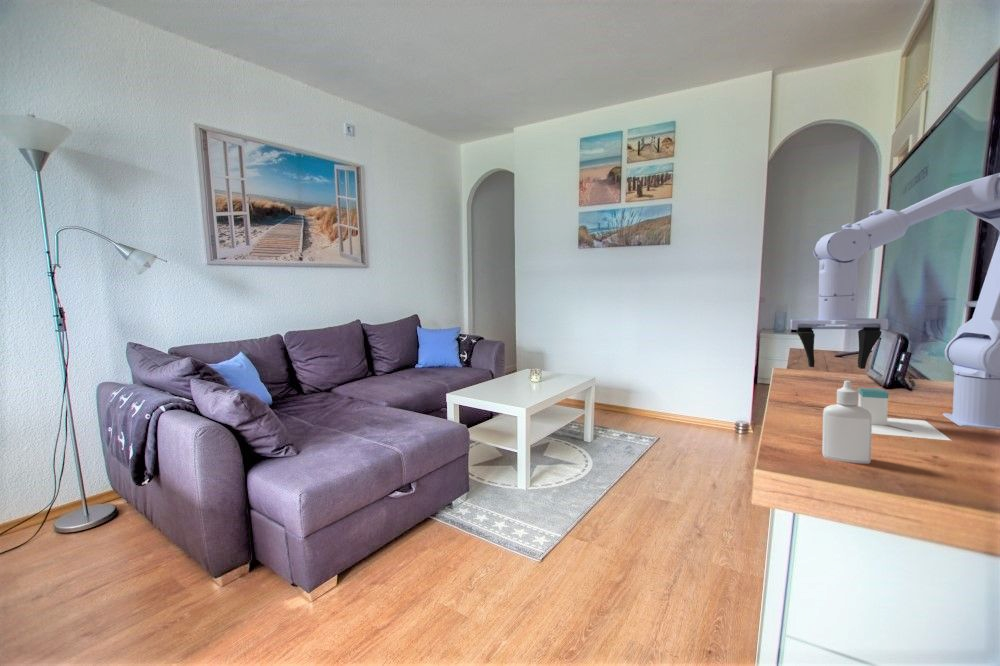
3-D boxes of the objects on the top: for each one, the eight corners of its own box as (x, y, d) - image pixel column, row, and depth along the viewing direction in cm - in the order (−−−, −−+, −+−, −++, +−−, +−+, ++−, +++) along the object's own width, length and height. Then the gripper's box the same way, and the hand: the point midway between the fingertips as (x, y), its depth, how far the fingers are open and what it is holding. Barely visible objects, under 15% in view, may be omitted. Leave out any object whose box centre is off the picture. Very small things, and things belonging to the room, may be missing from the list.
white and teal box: (882, 420, 82) (882, 388, 81) (887, 425, 79) (888, 392, 78) (857, 418, 84) (858, 387, 83) (862, 423, 80) (862, 391, 80)
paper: (925, 422, 81) (925, 420, 81) (951, 442, 70) (951, 440, 70) (843, 416, 87) (843, 414, 87) (857, 433, 76) (857, 431, 76)
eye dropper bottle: (861, 469, 62) (863, 386, 61) (817, 457, 67) (818, 380, 66) (875, 462, 64) (878, 382, 63) (831, 451, 69) (833, 376, 68)
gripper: (793, 297, 82) (792, 368, 83) (894, 294, 75) (891, 372, 76) (789, 297, 88) (789, 363, 89) (882, 294, 81) (880, 366, 82)
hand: (835, 367), depth 83 cm, fingers open, 7 cm apart
